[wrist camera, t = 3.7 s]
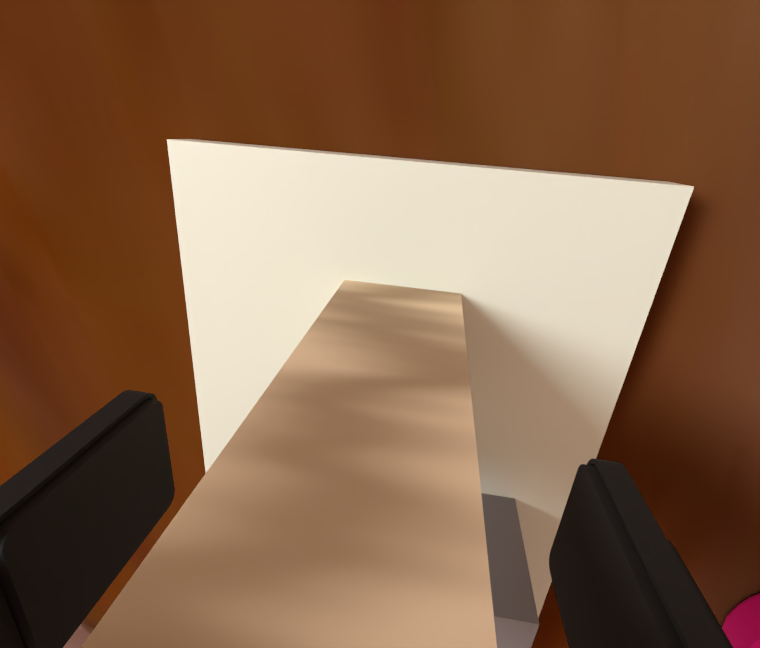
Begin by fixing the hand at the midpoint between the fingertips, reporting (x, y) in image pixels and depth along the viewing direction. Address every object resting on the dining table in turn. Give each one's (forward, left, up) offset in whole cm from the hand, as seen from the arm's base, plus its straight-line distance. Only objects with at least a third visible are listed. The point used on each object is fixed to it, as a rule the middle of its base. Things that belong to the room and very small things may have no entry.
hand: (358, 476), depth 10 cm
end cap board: (0, +6, -8) cm, 10 cm away
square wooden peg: (0, 0, -7) cm, 7 cm away
